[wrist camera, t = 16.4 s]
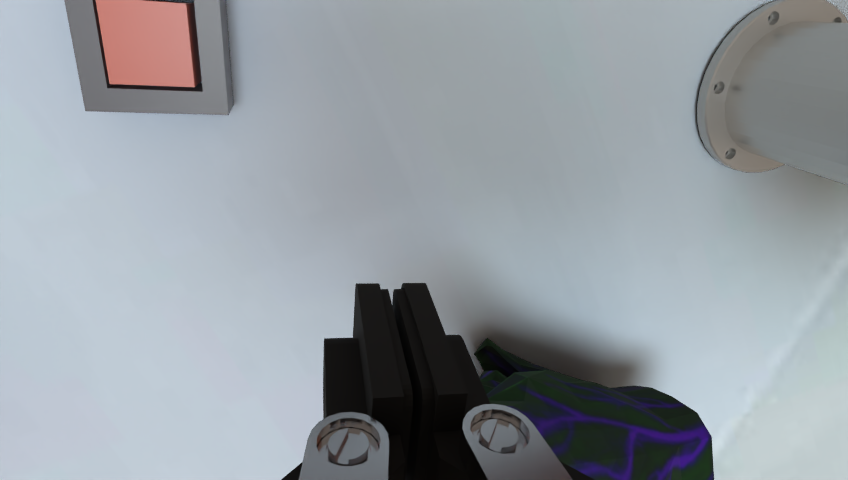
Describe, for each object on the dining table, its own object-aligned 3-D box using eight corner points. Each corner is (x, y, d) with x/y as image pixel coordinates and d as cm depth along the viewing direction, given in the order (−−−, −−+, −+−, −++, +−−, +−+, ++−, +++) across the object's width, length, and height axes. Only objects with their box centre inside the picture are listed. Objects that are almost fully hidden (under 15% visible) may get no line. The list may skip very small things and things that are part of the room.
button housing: (223, -25, 28) (217, -28, 26) (233, 105, 31) (228, 115, 29) (79, -38, 27) (56, -42, 24) (103, 101, 30) (85, 111, 27)
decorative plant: (517, 399, 60) (251, 438, 44) (690, 260, 44) (369, 241, 27) (609, 608, 48) (293, 769, 32) (891, 526, 32) (543, 768, 16)
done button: (194, 3, 28) (185, 3, 26) (202, 80, 30) (194, 87, 27) (112, -4, 27) (95, -4, 25) (124, 76, 29) (109, 84, 26)
